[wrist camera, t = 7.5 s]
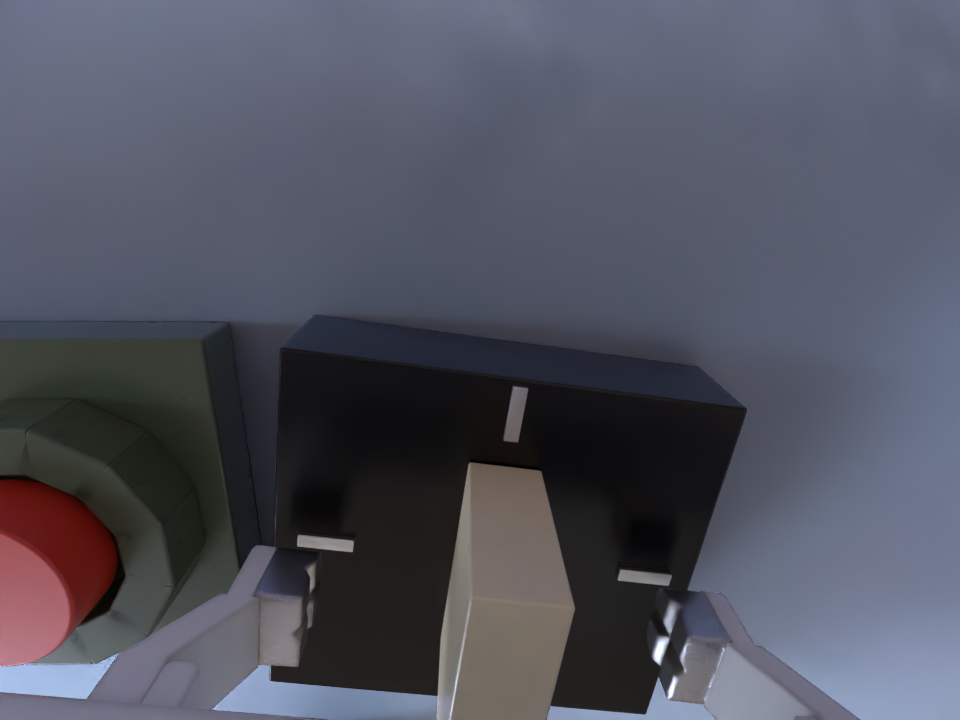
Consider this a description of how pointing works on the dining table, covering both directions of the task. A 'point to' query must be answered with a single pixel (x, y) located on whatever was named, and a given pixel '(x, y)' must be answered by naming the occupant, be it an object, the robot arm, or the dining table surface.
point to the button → (47, 568)
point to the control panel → (441, 482)
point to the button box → (135, 460)
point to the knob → (503, 601)
